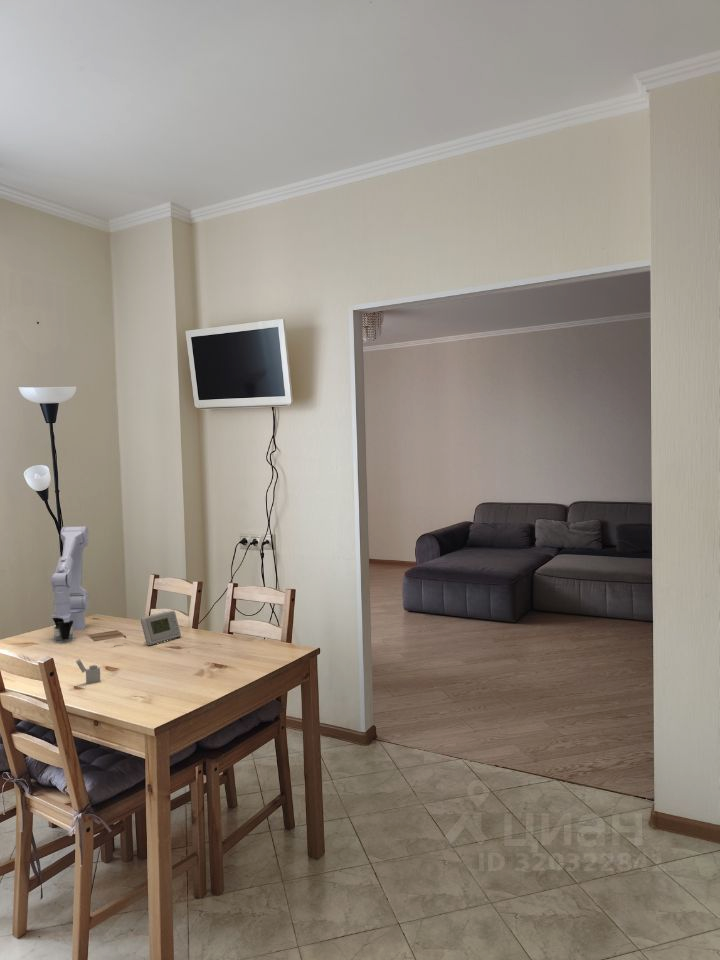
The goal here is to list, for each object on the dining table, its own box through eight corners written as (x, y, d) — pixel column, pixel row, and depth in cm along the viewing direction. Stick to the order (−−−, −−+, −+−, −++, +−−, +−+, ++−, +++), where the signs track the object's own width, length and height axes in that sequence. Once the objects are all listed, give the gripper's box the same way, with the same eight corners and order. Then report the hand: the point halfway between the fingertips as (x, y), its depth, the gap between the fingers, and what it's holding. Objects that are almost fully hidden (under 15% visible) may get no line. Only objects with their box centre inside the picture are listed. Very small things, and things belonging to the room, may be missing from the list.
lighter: (99, 679, 225) (98, 655, 225) (100, 681, 223) (99, 656, 223) (76, 684, 221) (75, 659, 221) (77, 685, 220) (76, 660, 219)
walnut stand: (87, 638, 276) (86, 635, 276) (117, 633, 283) (117, 630, 283) (94, 645, 267) (94, 641, 267) (126, 639, 274) (125, 636, 273)
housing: (54, 639, 270) (53, 627, 270) (70, 637, 274) (70, 624, 274) (56, 641, 267) (55, 629, 267) (72, 639, 271) (72, 626, 270)
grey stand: (50, 642, 272) (50, 639, 271) (72, 639, 276) (72, 635, 276) (54, 647, 265) (54, 643, 265) (76, 643, 270) (76, 639, 269)
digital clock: (146, 647, 263) (146, 619, 262) (136, 642, 269) (135, 615, 269) (185, 638, 274) (184, 612, 273) (174, 634, 280) (173, 608, 280)
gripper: (47, 601, 274) (48, 634, 274) (55, 607, 262) (56, 642, 262) (66, 598, 278) (67, 632, 278) (74, 604, 266) (75, 639, 266)
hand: (63, 637), depth 270 cm, fingers open, 7 cm apart
